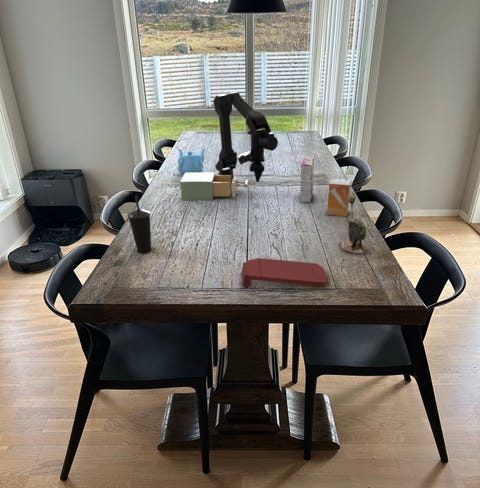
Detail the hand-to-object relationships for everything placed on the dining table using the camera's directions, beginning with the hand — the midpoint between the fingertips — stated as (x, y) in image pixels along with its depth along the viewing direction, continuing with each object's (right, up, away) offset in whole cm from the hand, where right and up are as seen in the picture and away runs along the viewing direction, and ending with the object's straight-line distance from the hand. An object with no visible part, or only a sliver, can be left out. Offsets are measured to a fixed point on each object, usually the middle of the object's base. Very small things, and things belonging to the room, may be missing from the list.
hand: (257, 181), depth 202 cm
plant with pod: (+31, -35, -48) cm, 67 cm away
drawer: (-13, -4, +3) cm, 14 cm away
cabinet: (-26, -5, +5) cm, 27 cm away
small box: (+32, -17, -19) cm, 41 cm away
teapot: (-33, +15, +38) cm, 53 cm away
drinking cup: (-41, -35, -44) cm, 70 cm away
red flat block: (+6, -45, -64) cm, 78 cm away
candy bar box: (+21, -8, -3) cm, 23 cm away
